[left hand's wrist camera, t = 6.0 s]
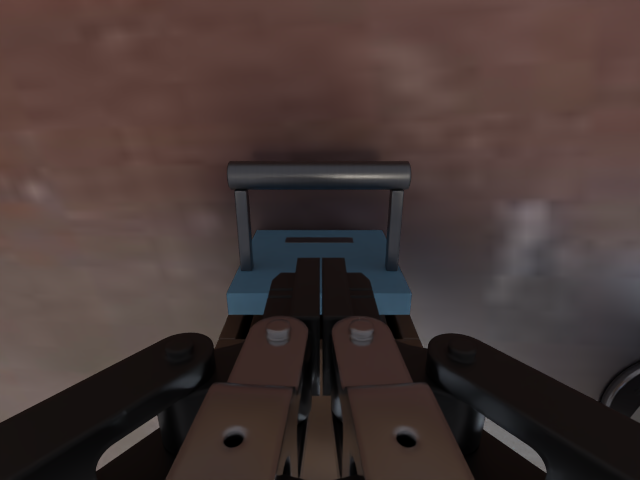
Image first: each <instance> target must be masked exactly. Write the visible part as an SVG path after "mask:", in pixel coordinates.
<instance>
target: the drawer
mask: <svg viewBox="0 0 640 480" xmlns="http://www.w3.org/2000/svg"><path fill="white" fill-rule="evenodd" d="M227 180H228V185H229V188H230V189H232V190H235V191H234V193H235V205H236V217H237V229H238V241H239V253H240V266H239V268H238V270H237V273H236V275H235V277H234V279H233V281H232V283H231V285H230V287H229V289H228V291H227V304H228V314H229V315H254V316H253V320H252V323H251V326H250V328H251V327H252V326H253V325H254V324H255V323H257V322H258V321H260V320H262V317H263V313H264V309H265V306H266V302H267V298H268V294H269V291H270V286H271V283H272V280H273V279H274V278H275V277H276V276H277V275H278V274H280V273H281V272H286V273H287V272H289V273H295V272H296V264H297V258H320V339H322V258H345V264H346V271H347V272H361V273H362V274H364V275H365V276H366V277H367V278H368V279H369V280H370V282H371V286H372V290H373V293H374V298H375V301H376V304H377V308H378V312H379V315H380V319H381V321H382V322H383V323H385V324H386V325H387V322H386V318H385V315H409V314H410V306H411V296H412V293H411V291H410V289H409V287H408V285H407V282H406V280H405V278H404V276H403V274H402V272H401V270H400V267H399V265H398V258H399V246H400V233H401V221H402V208H403V196H404V191H403V190H406V189H408V188H409V186H410V181H411V166H410V163H409V162H408V161H230V162H229V163H228V167H227ZM248 190H390V197H389V212H388V227H387V240H386V238H385V235H384V233H383V231H382V230H257V231H256V233H255V235H254V237H253V239H252V236H251V222H250V207H249V193H248ZM387 326H388V325H387ZM249 330H250V329H249Z"/></svg>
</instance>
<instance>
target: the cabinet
mask: <svg viewBox="0 0 640 480" xmlns="http://www.w3.org/2000/svg"><path fill="white" fill-rule="evenodd" d="M253 316H254V315H228V318H227V320H226V323H225V325H224V327H223V330H222V332H221V334H220V337H219V340H218V342H217V344H216V347H215V349H217V348H222V347H227V346H231V345H235V344H238V343H241V342H243V341H245V339H246V337H247V335H248V332H249V329H250V326H251V323H252V320H253ZM385 318H386V322H387V325H388V327H389V328H390V330H391V332H392V335H393V337H394V339H396V340H398V341H400V342H402V343H405V344H408V345H412V346H417V347H422V348H423V346H422V344H421V341H420V340H419V337H418V334H417V332H416V329H415V327H414V324H413V322H412V320H411V317H410V315H385ZM302 479H304V480H336V479H338V477H337V469H336V461H335V453H334V445H333V437H332V429H331V396H323V390H322V339H320V396H312V407H311V411H310V413H309V429H308V437H307V445H306V453H305V461H304V469H303V477H302Z"/></svg>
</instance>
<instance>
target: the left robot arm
mask: <svg viewBox="0 0 640 480" xmlns="http://www.w3.org/2000/svg"><path fill="white" fill-rule="evenodd" d="M322 390H323V396H331V429H332V437H333V445H334V453H335V461H336V469H337V477H338V479H336V480H640V362H639V363H637V364H635V365H633V366H631V367H629V368H628V369H626V370H625V371H624V372H622V373H621V374H620V375H619V376H617V377H616V378H615V379H614V380H613V381H612V383H611V384H610V385H609V386H608V388H607V389H606V391H605V393H604V395H603V397H602V400H601V403H600V402H598V401H596V400H594V399H592V398H590V397H588V396H586V395H584V394H582V393H580V392H579V391H577V390H575V389H573V388H571V387H569V386H567V385H565V384H563V383H561V382H559V381H557V380H555V379H553V378H551V377H549V376H547V375H545V374H543V373H542V372H540V371H538V370H536V369H534V368H532V367H530V366H528V365H526V364H524V363H522V362H520V361H518V360H516V359H514V358H512V357H510V356H508V355H506V354H505V353H503V352H501V351H499V350H497V349H495V348H493V347H491V346H489V345H487V344H485V343H483V342H481V341H479V340H477V339H475V338H472V337H469V336H466V335H462V334H453V333H450V334H441V335H438V336H436V337H434V338H433V339H431V341H430V342H429V344H428V349H427V348H422V347H417V346H412V345H408V344H405V343H402V342H400V341H398V340H396V339H394V337H393V335H392V332H391V330H390V328H389V327H388V326H387V325H386V324H385V323H383V322H382V321H381V319H380V315H379V312H378V308H377V304H376V301H375V298H374V293H373V290H372V286H371V282H370V280H369V279H368V278H367V277H366V276H365V275H364V274H362V273H361V272H347V271H346V264H345V258H322ZM312 396H320V258H297V264H296V272H295V273H289V272H287V273H286V272H281V273H280V274H278V275H277V276H276V277H275V278H274V279H273V280H272V283H271V286H270V291H269V294H268V298H267V302H266V306H265V309H264V313H263V317H262V320H260V321H258V322H257V323H255V324H254V325H253V326H252V327H251V328H250V330H249V332H248V335H247V337H246V339H245V341H243V342H241V343H238V344H235V345H231V346H227V347H222V348H217V349H214V346H213V342H212V340H211V339H210V338H209V337H207V336H205V335H203V334H199V333H181V334H176V335H173V336H170V337H167V338H165V339H163V340H161V341H159V342H157V343H155V344H153V345H151V346H149V347H147V348H145V349H143V350H141V351H139V352H137V353H135V354H134V355H132V356H130V357H128V358H126V359H124V360H122V361H120V362H118V363H116V364H114V365H112V366H110V367H108V368H106V369H104V370H102V371H100V372H98V373H97V374H95V375H93V376H91V377H89V378H87V379H85V380H83V381H81V382H79V383H77V384H75V385H73V386H71V387H69V388H67V389H65V390H63V391H61V392H60V393H58V394H56V395H54V396H52V397H50V398H48V399H46V400H44V401H42V402H40V403H38V404H36V405H34V406H32V407H30V408H28V409H26V410H24V411H23V412H21V413H19V414H17V415H15V416H13V417H11V418H9V419H7V420H5V421H3V422H1V423H0V480H304V479H302V477H303V469H304V461H305V453H306V445H307V437H308V429H309V413H310V411H311V407H312ZM156 415H157V416H158V421H159V426H160V428H158V429H157V430H155V431H154V432H152V433H151V434H150V435H148V436H147V437H145V438H144V439H142V440H141V441H140V442H138V443H137V444H135V445H134V446H132V447H131V448H129V449H128V450H127V451H125V452H124V453H122V454H121V455H119V456H118V457H116V458H115V459H114V460H112V461H111V462H109V463H108V464H106V465H105V466H104V467H102V468H101V469H99V470H98V471H96V466H97V463H98V461H99V459H100V457H101V456H102V454H103V453H104V452H105V451H106V450H107V449H108V448H109V447H110V446H111V445H113V444H114V443H116V442H117V441H119V440H120V439H122V438H123V437H125V436H126V435H128V434H129V433H131V432H132V431H134V430H135V429H137V428H138V427H140V426H141V425H143V424H144V423H146V422H147V421H149V420H150V419H152V418H153V417H155V416H156ZM485 417H487V418H488V419H490V420H491V421H493V422H494V423H496V424H497V425H499V426H500V427H502V428H503V429H505V430H506V431H508V432H509V433H511V434H512V435H514V436H515V437H517V438H518V439H520V440H521V441H523V442H524V443H526V444H527V445H529V446H530V447H531V448H533V449H534V450H535V451H536V452H537V453H538V454H539V456H540V457H541V458H542V460H543V462H544V464H545V466H546V470H547V473H545V472H544V471H542V470H541V469H539V468H538V467H536V466H535V465H534V464H532V463H531V462H529V461H528V460H526V459H525V458H524V457H522V456H521V455H519V454H518V453H516V452H515V451H513V450H512V449H511V448H509V447H508V446H506V445H505V444H503V443H502V442H501V441H499V440H498V439H496V438H495V437H493V436H492V435H490V434H489V433H488V432H486V431H485V430H483V426H484V421H485Z"/></svg>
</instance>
